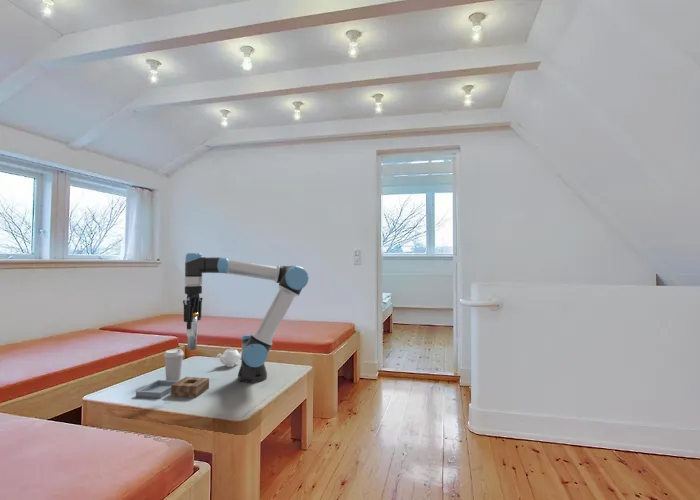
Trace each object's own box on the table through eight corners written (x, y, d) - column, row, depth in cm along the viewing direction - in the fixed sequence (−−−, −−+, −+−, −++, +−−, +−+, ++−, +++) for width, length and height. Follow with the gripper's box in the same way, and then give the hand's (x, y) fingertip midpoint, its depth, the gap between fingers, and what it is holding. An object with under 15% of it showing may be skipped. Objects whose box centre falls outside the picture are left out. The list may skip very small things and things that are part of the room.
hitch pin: (199, 347, 174) (200, 312, 175) (194, 350, 169) (195, 313, 170) (189, 347, 175) (190, 312, 175) (184, 350, 170) (184, 313, 170)
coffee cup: (175, 383, 182) (176, 353, 183) (158, 382, 184) (159, 352, 185) (187, 378, 192) (188, 349, 192) (171, 376, 194) (172, 348, 194)
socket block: (208, 388, 177) (209, 378, 177) (196, 397, 165) (196, 386, 165) (185, 387, 178) (185, 376, 178) (171, 396, 166) (171, 385, 166)
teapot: (210, 367, 211) (211, 351, 211) (240, 360, 226) (241, 345, 226) (219, 371, 204) (219, 354, 205) (249, 363, 220) (250, 348, 220)
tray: (180, 386, 179) (181, 381, 179) (160, 398, 163) (160, 392, 163) (158, 385, 180) (158, 380, 181) (135, 397, 165) (136, 391, 165)
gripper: (195, 284, 182) (194, 331, 181) (175, 286, 165) (174, 338, 164) (209, 284, 181) (208, 331, 180) (191, 286, 164) (190, 339, 163)
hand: (192, 334), depth 172 cm, fingers closed on hitch pin, 4 cm apart
